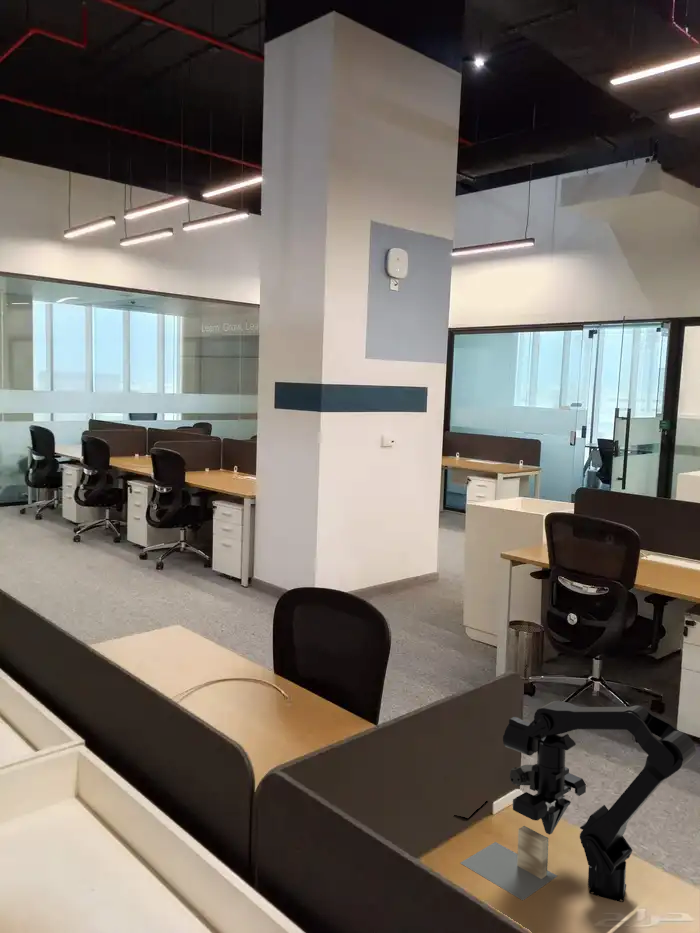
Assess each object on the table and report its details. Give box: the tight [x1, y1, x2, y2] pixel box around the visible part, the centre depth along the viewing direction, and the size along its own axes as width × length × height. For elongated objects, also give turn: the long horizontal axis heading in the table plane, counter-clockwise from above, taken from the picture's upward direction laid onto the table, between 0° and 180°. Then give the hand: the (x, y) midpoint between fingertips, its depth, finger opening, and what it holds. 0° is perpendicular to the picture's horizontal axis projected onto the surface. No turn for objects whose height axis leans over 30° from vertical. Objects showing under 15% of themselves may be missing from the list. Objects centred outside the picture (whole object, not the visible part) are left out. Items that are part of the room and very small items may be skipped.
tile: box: [517, 825, 549, 879], centre depth 157 cm, size 6×2×8 cm, turn 41°
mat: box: [460, 841, 558, 901], centre depth 157 cm, size 16×12×1 cm
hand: (548, 833), depth 160 cm, fingers closed
